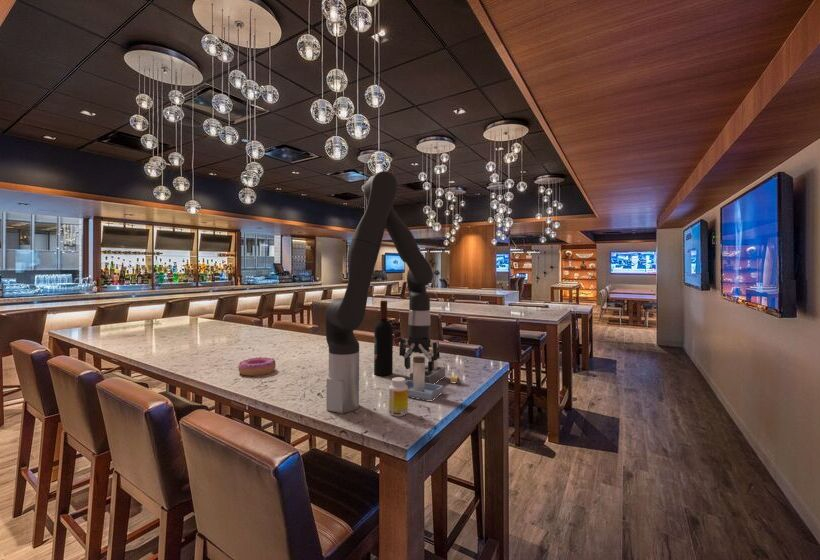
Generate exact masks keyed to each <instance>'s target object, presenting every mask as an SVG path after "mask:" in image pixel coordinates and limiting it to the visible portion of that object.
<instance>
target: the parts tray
mask: <svg viewBox="0 0 820 560" xmlns="http://www.w3.org/2000/svg"><path fill="white" fill-rule="evenodd" d="M405 385H407V386H408V397H414V398H419V399H424V400H433V399H434V398H436V397H437V396H438V395H439V394H440V393H442V392H443V393H444V385H442V384H441V385H440V384H437V383H436V384H430V383H425V392H420V391H415V390H413V381H412V380H410V379H407V380H405ZM443 393H442V394H443ZM438 397H439V396H438ZM438 397H437V398H438ZM414 398H413V399H414ZM437 398H436V399H437ZM419 399H418V400H419ZM424 400H423V401H424ZM434 400H435V399H434ZM434 400H433V401H434Z"/></svg>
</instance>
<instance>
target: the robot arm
mask: <svg viewBox="0 0 820 560" xmlns="http://www.w3.org/2000/svg"><path fill="white" fill-rule="evenodd" d="M398 187H399V185H398V181H397V178H396V177H395V175H394V174H393V173H392V172H390V171H387V170H383V171H382V170H381V171H379V172H377V173H375V174H374V175H372V176H371V177H370V178H368V179H367V181H365V183H364V185H363V193H364V197H365V198H366V200H367V202H368V203H367V205H366V209H365V211H364V214H363V216H362V217H361V219H360V221H359V223H358V224H357V226H356V229H355V230H354V232H353V234H352V238H351V241H350V245H349V247H348V252H347V257H346V258H347V259H346V263H347V265H346V266H347V273H348V274H347V275H348V279H347V280H348V281H347V286H346V289H345V292H344V295H343V298H337V299H334V300H332V301H331V302H330V303H329V304H328V305H327V308H326V311H325V337H326V339H325V340H326V344H327V347H328V377H327V378H326V401H325V402H326V411H330V412H335V413H337V414H343V415H344V413H349V412H353V411H356V410H357V409H359V406H360V342H359V340H358V339H357V338H356V337H355V333H354V331H356V330H357V329H358V328H359V327H361V325H362V323H363V321H364V318H365V314H366V308H367V303H368V297H369V290H370V286H371V283H372V279H373V276H374V270H375V267H376V263H377V260H378V257H379V253H380V250H381V246H382V242H383V238H384V234H385V233H384V232H385V229H386V231H387V233H388V235H389V237H390V239H391V241H392V243H393V245H394V247H395V249H396V251H397V254H398V255H399V258H400V259H401V261H402V262H404V263H405V264H406V266H407V267H408V268H409V269H408V270H407V274H406V284H407V291H408V295H409V302H408V303H409V308H408V309H409V312H408V323H407V324H408V327H407V328H408V329H407V330H408V331H407V332H408V334H407V335H408V336H407V337H408V338H406V337H402V338H400V339H399V352H398V353H399V356H401V357H403V358H404V364H403V365H404V368H405V369H406V370H409V369H410V368H411V356H412V354H413V353H415V354H417V353H418V354H423V355H424V357H425V358H426V360H427V359H428V360H429V361H428V372H432V371H433V370H434V361H435V360H437V359H438V360H439V359H440V358H441V357H440V356H441V355H440V342H439V341H437V340H436V341H431V322H432V321H431V298H430V294H428V291H427V287H426V286H428V285H429V284H430V283H431V282H432V281H433V279H434V274H433V269H432V267H431V265H430V263H429V261H428V260H427V258H426V257H425V256H424V255H423V253H422V252H421V249H420V247H419V245H418V243H417V241H416V239H415V237H414V235H413V233H412V231H411V230H410V229H409V227H408V226H407V224H405V223H404V221H403V220H402V219H401V218H400V217H399V215H398V213H397V212H396V210H395V209H394V206H393V204H394V201H395V200H396V197H397V193H398ZM407 345H408V346H409V347H408V349H407ZM429 347H432V348H433V354H432V352H431V350H430V348H429Z"/></svg>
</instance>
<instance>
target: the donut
mask: <svg viewBox="0 0 820 560" xmlns="http://www.w3.org/2000/svg"><path fill="white" fill-rule="evenodd" d="M276 365H277V363H276V360H275V358H272V357H261V356H260V357H251V358H248V359H243V360H242V361H239V364H238V367H237V368H238V372H239V374H241V376H245V375H246V376H247V377H257V376H258V377H260V376H265V375H269V374H272V373H273V372H274V371H275V370H276ZM259 375H260V376H259Z"/></svg>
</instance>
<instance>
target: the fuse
mask: <svg viewBox="0 0 820 560" xmlns="http://www.w3.org/2000/svg"><path fill="white" fill-rule="evenodd" d="M429 348H430V350H431V352H432V354H433V348H432V346H430V347H429ZM426 360H427V361H426V363H427V364H426V365H427V370H428V361H429V360H428V359H427V358H426ZM438 362H439V359H437V360H435V361H434V371H437V370H438V367H439V363H438Z"/></svg>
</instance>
